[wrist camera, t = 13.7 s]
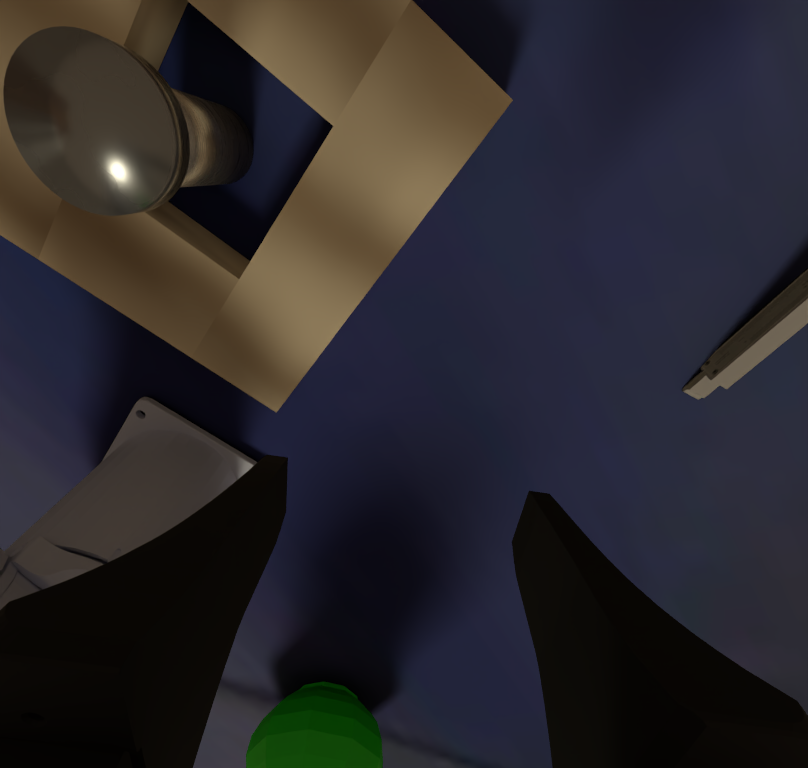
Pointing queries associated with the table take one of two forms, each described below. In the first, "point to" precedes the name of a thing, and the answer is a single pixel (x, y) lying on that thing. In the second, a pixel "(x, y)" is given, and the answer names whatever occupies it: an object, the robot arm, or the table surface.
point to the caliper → (754, 339)
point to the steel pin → (114, 125)
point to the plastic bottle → (317, 732)
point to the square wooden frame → (308, 204)
